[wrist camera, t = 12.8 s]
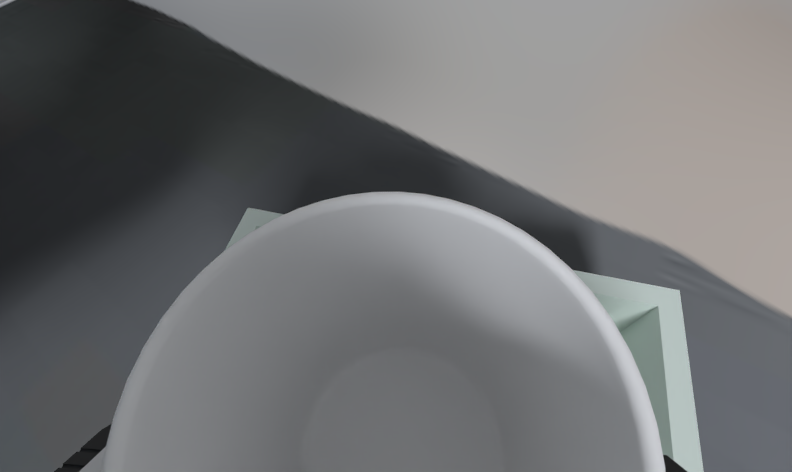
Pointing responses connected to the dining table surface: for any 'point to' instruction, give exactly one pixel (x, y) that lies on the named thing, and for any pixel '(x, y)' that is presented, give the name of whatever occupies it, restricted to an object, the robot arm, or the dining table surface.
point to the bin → (645, 337)
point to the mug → (385, 354)
